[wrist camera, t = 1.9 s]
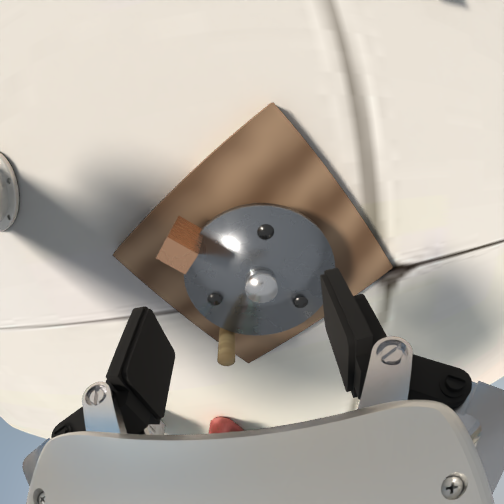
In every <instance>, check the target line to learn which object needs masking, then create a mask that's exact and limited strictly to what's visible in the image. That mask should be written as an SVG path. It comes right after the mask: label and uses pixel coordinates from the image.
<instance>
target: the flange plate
mask: <svg viewBox="0 0 504 504" xmlns="http://www.w3.org/2000/svg"><path fill="white" fill-rule="evenodd" d="M156 259H158V260H160V261H162V262H163V263H165V264H167V265H169V266H171V267H172V268H174V269H176V270H178V271H180V272H182V273H183V274H184V282H185V287H186V290H187V293H188V296H189V298H190V300H191V302H192V303H193V305H194V306H195V308H196V309H197V310H198V311H199V312H200V313H201V314H202V315H203V316H204V317H205V318H206V319H207V320H209V321H210V322H212V323H213V324H215V325H217V326H219V327H221V328H223V329H225V330H228V331H231V332H234V333H238V334H244V335H270V334H275V333H280V332H283V331H286V330H289V329H291V328H293V327H296V326H298V325H299V324H301V323H303V322H304V321H306V320H307V319H308V318H310V317H311V316H312V315H313V314H314V313H316V312H317V311H318V309H319V308H320V307H321V306H322V305H323V299H322V289H321V280H320V275H323V274H324V271H325V270H328V269H333V268H335V260H334V255H333V252H332V249H331V246H330V244H329V242H328V240H327V239H326V237H325V235H324V234H323V233H322V231H321V230H320V228H319V227H318V226H317V225H316V224H315V223H314V222H313V221H312V220H311V219H309V218H308V217H307V216H305V215H304V214H302V213H300V212H299V211H297V210H294V209H292V208H290V207H287V206H283V205H279V204H273V203H250V204H244V205H240V206H236V207H233V208H231V209H228V210H226V211H224V212H222V213H220V214H218V215H217V216H215V217H214V218H212V219H211V220H210V221H208V222H207V223H206V224H205V225H204V226H203V227H202V228H200V227H198V226H196V225H194V224H193V223H191V222H189V221H188V220H186V219H184V218H182V217H181V216H178V218H177V219H176V221H175V223H174V225H173V226H172V228H171V230H170V232H169V233H168V235H167V237H166V239H165V241H164V243H163V245H162V247H161V249H160V251H159V253H158V255H157V257H156Z"/></svg>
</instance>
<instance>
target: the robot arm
mask: <svg viewBox="0 0 504 504" xmlns="http://www.w3.org/2000/svg"><path fill="white" fill-rule="evenodd" d="M18 207H19V191H18V185H17V180H16V177H15V174H14V171H13V169H12V167H11V165H10V163H9V162H8V160H7V159H6V158H5V157H4V156H3V155H2V154H1V153H0V232H2V231H4V230H6V229H7V228H9V227H10V226H11V225H12V224H13V222H14V220H15V218H16V216H17V212H18ZM320 280H321V289H322V299H323V309H324V320H325V327H326V331H327V334H328V337H329V340H330V343H331V346H332V349H333V352H334V355H335V358H336V361H337V364H338V367H339V370H340V374H341V377H342V380H343V383H344V386H345V389H346V392H348V391H351V393H352V396H353V398H354V397H358V399H360V402H359V406H358V409H357V410H354V411H350V412H346V413H342V414H338V415H333V416H329V417H324V418H320V419H315V420H310V421H305V422H300V423H294V424H289V425H283V426H277V427H270V428H263V429H255V430H247V431H237V432H226V433H213V434H192V435H150V434H149V431H148V428H147V427H148V424H155V425H160V420H161V418H163V417H164V413H165V407H166V402H167V396H168V391H169V386H170V380H171V375H172V370H173V365H174V360H175V352H174V349H173V348H172V346H171V344H170V342H169V341H168V339H167V337H166V335H165V334H164V332H163V330H162V328H161V326H160V324H159V323H158V321H157V319H156V317H155V315H154V313H153V311H152V310H151V309H148V308H147V307H139V308H135V309H133V311H132V313H131V315H130V318H129V320H128V322H127V325H126V327H125V330H124V332H123V334H122V337H121V339H120V342H119V344H118V347H117V349H116V351H115V354H114V357H113V359H112V362H111V364H110V367H109V369H108V372H107V375H106V378H107V380H106V383H105V382H96V383H94V384H92V385H90V386H89V387H88V388H87V389H86V390H85V392H84V394H83V397H82V404H83V407H81V408H80V409H78V410H77V411H76V412H74V413H73V414H71V415H70V416H69V417H67V418H66V419H65V420H63V421H62V422H60V423H59V424H58V425H57V426H56V427H55V428H54V430H53V432H52V439H50V438H48V439H47V440H46V441H45V442H43V443H42V444H41V445H40V446H39V447H37V448H36V449H35V450H34V451H33V452H31V453H30V454H29V455H28V456H27V457H26V458H25V459H24V462H23V471H24V474H25V476H26V479H27V481H28V483H29V486H30V488H29V492H28V497H27V502H26V504H494V500H493V497H492V494H493V492H494V489H495V488H496V486H497V484H498V482H499V479H500V477H501V475H502V473H503V470H504V390H502V389H499V388H497V387H494V386H491V385H489V384H486V383H483V382H481V381H478V383H475V382H472V381H471V378H470V376H469V374H468V373H466V372H465V371H464V370H462V369H460V368H456V367H453V366H450V365H446V364H443V363H439V362H436V361H433V360H430V359H426V358H423V357H420V356H417V355H413V351H412V347H411V345H410V344H409V343H408V342H407V341H406V340H405V339H403V338H400V337H395V336H391V337H387V336H386V334H385V332H384V330H383V328H382V327H381V325H380V323H379V321H378V319H377V317H376V315H375V314H374V312H373V310H372V308H371V306H370V305H369V303H368V301H367V299H366V298H365V296H364V295H363V294H359V295H355V296H353V295H352V293H351V291H350V289H349V287H348V285H347V283H346V282H345V280H344V278H343V276H342V274H341V272H340V270H339V269H338V268H333V269H328V270H325V271H324V274H323V275H320ZM444 479H445V480H444Z"/></svg>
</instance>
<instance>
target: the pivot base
mask: <svg viewBox="0 0 504 504" xmlns="http://www.w3.org/2000/svg"><path fill="white" fill-rule="evenodd" d="M250 203H273V204H279V205H283V206H287V207H290V208H292V209H294V210H297V211H299V212H300V213H302V214H304V215H305V216H307V217H308V218H309V219H311V220H312V221H313V222H314V223H315V224H316V225H317V226H318V227H319V228H320V230H321V231H322V233H323V234H324V235H325V237H326V239H327V240H328V242H329V244H330V246H331V249H332V252H333V255H334V260H335V268H338V269H339V270H340V272H341V274H342V276H343V278H344V280H345V282H346V283H347V285H348V287H349V289H350V291H351V293H352V295H353V296H355V295H357V294H358V293H359V292H361V291H362V290H364V289H365V288H366V287H368V286H369V285H371V284H372V283H373V282H375V281H376V280H377V279H379V278H380V277H381V276H383V275H384V274H385V273H387V272H388V271H389V270H390V269H392V268H393V267H392V265H391V263H390V262H389V260H388V258H387V257H386V255H385V253H384V252H383V250H382V248H381V247H380V245H379V244H378V242H377V240H376V239H375V237H374V236H373V234H372V232H371V231H370V229H369V228H368V226H367V225H366V223H365V222H364V220H363V219H362V217H361V216H360V214H359V213H358V211H357V210H356V208H355V207H354V205H353V204H352V202H351V201H350V199H349V198H348V197H347V195H346V194H345V192H344V191H343V190H342V188H341V187H340V185H339V184H338V183H337V181H336V180H335V178H334V177H333V176H332V174H331V173H330V172H329V170H328V169H327V168H326V166H325V165H324V164H323V162H322V161H321V160H320V158H319V157H318V156H317V155H316V153H315V152H314V151H313V149H312V148H311V147H310V146H309V144H308V143H307V142H306V141H305V139H304V138H303V137H302V136H301V134H300V133H299V132H298V131H297V130H296V128H295V127H294V126H293V125H292V124H291V122H290V121H289V120H288V119H287V118H286V116H285V115H284V114H283V113H282V112H281V111H280V110H279V108H278V107H277V106H276V105H275V104H274V103H270V104H269V105H268V106H267V107H265V108H264V109H263V110H261V111H260V112H259V113H258V114H257V115H255V116H254V117H253V118H252V119H250V120H249V121H248V122H247V123H246V124H244V125H243V126H242V127H241V128H240V129H238V130H237V131H236V132H235V133H234V134H233V135H231V136H230V137H229V138H228V139H227V140H226V141H224V142H223V143H222V144H221V145H220V146H219V147H218V148H217V149H215V150H214V151H213V152H212V153H211V154H210V155H209V156H208V157H207V158H205V159H204V160H203V161H202V162H201V163H200V164H199V165H198V166H197V167H196V168H195V169H194V170H193V171H192V172H190V173H189V174H188V175H187V176H186V177H185V178H184V179H183V180H182V181H181V182H180V183H179V184H178V185H177V186H176V187H175V188H174V189H173V190H172V191H171V192H170V193H169V194H168V195H167V196H166V197H165V198H164V199H163V200H162V201H161V202H160V203H159V204H158V205H157V206H156V207H155V208H154V209H153V210H152V211H151V212H150V213H149V214H148V215H147V216H146V218H145V219H144V220H143V221H142V222H141V223H140V224H139V225H138V226H137V227H136V228H135V229H134V230H133V232H132V233H131V234H130V235H129V236H128V237H127V238H126V239H125V240H124V242H123V243H122V244H121V245H120V246H119V247H118V248H117V250H116V251H115V252H114V254H113V256H114V257H115V258H116V259H117V260H118V261H120V262H121V263H122V264H123V265H124V266H125V267H126V268H127V269H129V270H130V271H131V272H132V273H133V274H134V275H135V276H136V277H138V278H139V279H140V280H141V281H142V282H143V283H145V284H146V285H147V286H148V287H149V288H150V289H152V290H153V291H154V292H155V293H156V294H158V295H159V296H160V297H161V298H162V299H164V300H165V301H166V302H167V303H169V304H170V305H171V306H172V307H173V308H175V309H176V310H177V311H178V312H180V313H181V314H182V315H184V316H185V317H186V318H187V319H189V320H190V321H191V322H193V323H194V324H195V325H196V326H198V327H199V328H200V329H202V330H203V331H204V332H206V333H207V334H208V335H210V336H211V337H212V338H214V339H215V340H216V341H218V342H219V344H218V359H217V361H218V363H219V364H221V365H223V366H230V365H233V364H234V363H235V354H236V355H237V356H239V357H240V358H241V359H243V360H244V361H246V362H247V363H250V362H252V361H253V360H255V359H257V358H259V357H260V356H262V355H264V354H266V353H267V352H269V351H271V350H272V349H274V348H276V347H277V346H279V345H281V344H282V343H284V342H286V341H287V340H289V339H290V338H292V337H294V336H295V335H297V334H298V333H300V332H302V331H303V330H305V329H306V328H308V327H309V326H311V325H313V324H314V323H316V322H317V321H319V320H320V319H322V318H323V317H324V309H323V305H322V306H321V307H320V308H319V309H318V311H317V312H316V313H314V314H313V315H312V316H311V317H310V318H308V319H307V320H306V321H304V322H303V323H301V324H299V325H298V326H296V327H293V328H291V329H289V330H286V331H283V332H280V333H275V334H270V335H244V334H238V333H234V332H231V331H228V330H225V329H223V328H221V327H219V326H217V325H215V324H213V323H212V322H210V321H209V320H207V319H206V318H205V317H204V316H203V315H202V314H201V313H200V312H199V311H198V310H197V309H196V308H195V306H194V305H193V303H192V302H191V300H190V298H189V296H188V293H187V290H186V287H185V282H184V274H183V273H182V272H180V271H178V270H176V269H174V268H172V267H171V266H169V265H167V264H165V263H163V262H162V261H160V260H158V259H156V257H157V255H158V253H159V251H160V249H161V247H162V245H163V243H164V241H165V239H166V237H167V235H168V233H169V232H170V230H171V228H172V226H173V225H174V223H175V221H176V219H177V218H178V216H181V217H182V218H184V219H186V220H188V221H189V222H191V223H193V224H194V225H196V226H198V227H200V228H202V227H203V226H204V225H205V224H206V223H207V222H208V221H210V220H211V219H212V218H214V217H215V216H217V215H218V214H220V213H222V212H224V211H226V210H228V209H231V208H233V207H236V206H240V205H244V204H250Z"/></svg>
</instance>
